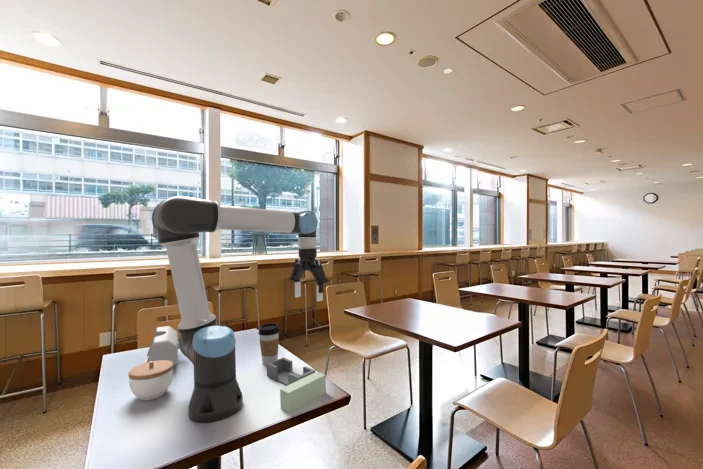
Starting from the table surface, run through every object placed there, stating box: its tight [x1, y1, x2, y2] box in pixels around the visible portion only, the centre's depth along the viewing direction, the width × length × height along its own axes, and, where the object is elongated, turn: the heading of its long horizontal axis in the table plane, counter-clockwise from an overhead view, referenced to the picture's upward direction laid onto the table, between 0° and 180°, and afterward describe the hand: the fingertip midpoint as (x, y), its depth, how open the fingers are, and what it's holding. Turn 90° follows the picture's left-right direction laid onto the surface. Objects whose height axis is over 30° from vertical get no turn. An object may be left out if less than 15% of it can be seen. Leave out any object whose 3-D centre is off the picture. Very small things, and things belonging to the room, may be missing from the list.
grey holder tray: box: [266, 357, 316, 387], centre depth 115 cm, size 8×18×4 cm, turn 48°
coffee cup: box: [258, 322, 281, 366], centre depth 131 cm, size 8×8×15 cm
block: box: [279, 371, 327, 414], centre depth 101 cm, size 15×4×6 cm, turn 139°
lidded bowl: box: [128, 360, 174, 401], centre depth 107 cm, size 13×13×11 cm
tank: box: [144, 325, 180, 367], centre depth 135 cm, size 25×16×12 cm, turn 28°
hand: (308, 299), depth 134 cm, fingers open, 13 cm apart
